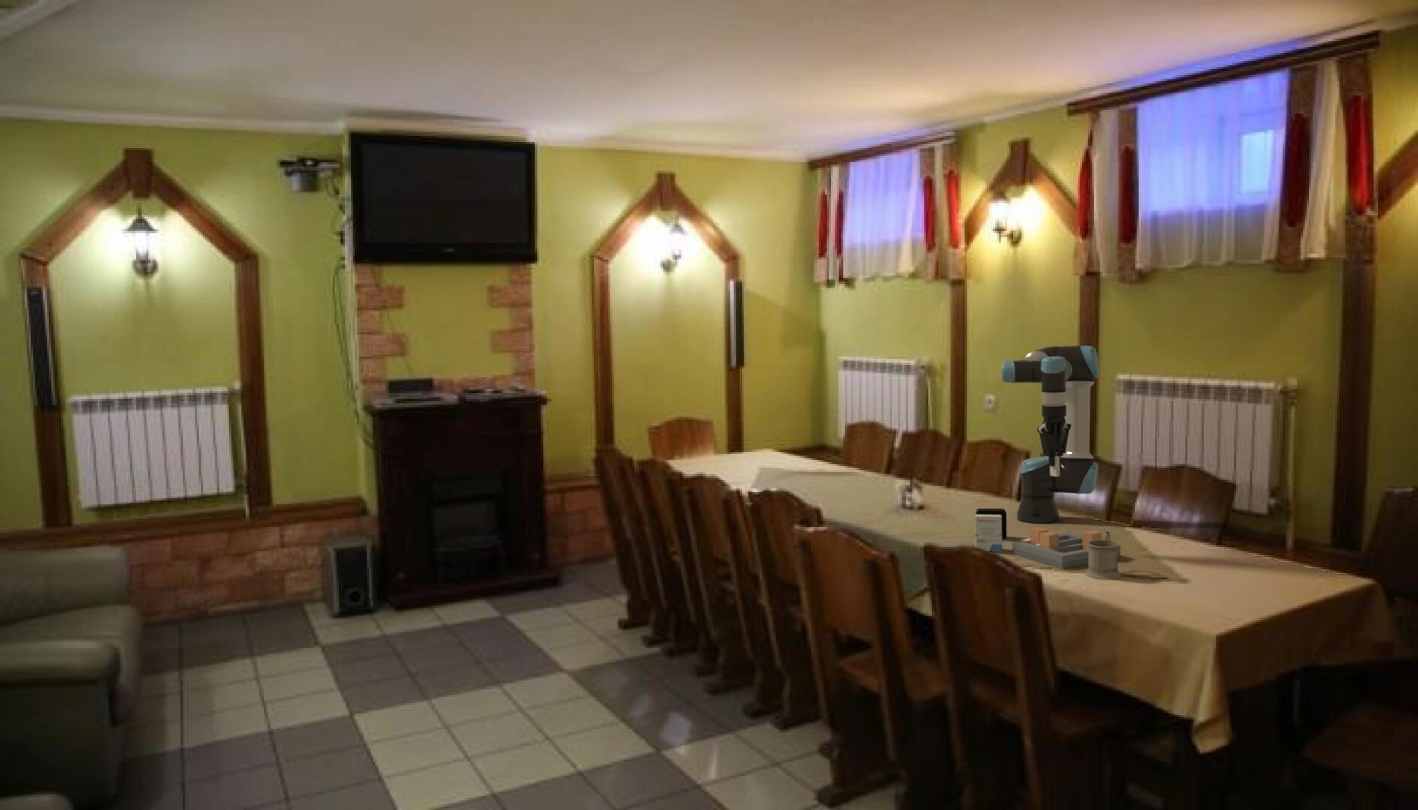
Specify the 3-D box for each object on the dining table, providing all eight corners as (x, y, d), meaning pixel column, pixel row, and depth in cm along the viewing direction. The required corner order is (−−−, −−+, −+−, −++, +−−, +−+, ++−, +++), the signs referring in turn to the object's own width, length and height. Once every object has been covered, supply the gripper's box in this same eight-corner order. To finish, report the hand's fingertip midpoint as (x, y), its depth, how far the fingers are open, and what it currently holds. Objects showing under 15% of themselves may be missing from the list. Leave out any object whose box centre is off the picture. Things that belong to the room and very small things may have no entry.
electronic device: (1006, 539, 342) (1006, 510, 341) (976, 539, 344) (976, 510, 343) (1005, 536, 347) (1005, 508, 346) (976, 536, 349) (975, 508, 348)
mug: (1117, 581, 288) (1117, 540, 287) (1082, 577, 293) (1082, 537, 292) (1126, 568, 300) (1126, 530, 299) (1092, 565, 305) (1092, 527, 304)
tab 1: (1039, 545, 323) (1039, 527, 323) (1048, 547, 320) (1048, 529, 319) (1030, 547, 322) (1030, 528, 321) (1039, 549, 318) (1039, 531, 318)
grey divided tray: (1068, 543, 333) (1068, 531, 332) (1120, 557, 313) (1120, 544, 312) (1012, 553, 323) (1012, 540, 322) (1062, 568, 303) (1062, 555, 302)
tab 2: (1049, 549, 317) (1049, 531, 317) (1058, 552, 314) (1058, 533, 313) (1040, 551, 316) (1039, 533, 315) (1049, 554, 312) (1049, 535, 311)
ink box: (1002, 548, 330) (1002, 513, 329) (1001, 552, 325) (1001, 517, 324) (976, 547, 333) (975, 513, 331) (975, 551, 328) (974, 516, 327)
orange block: (1091, 548, 317) (1091, 530, 316) (1101, 551, 313) (1101, 532, 312) (1082, 550, 315) (1082, 531, 314) (1092, 552, 311) (1091, 534, 311)
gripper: (1060, 401, 328) (1060, 471, 331) (1030, 405, 322) (1031, 476, 325) (1077, 403, 321) (1078, 474, 324) (1047, 407, 315) (1048, 480, 318)
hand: (1054, 475), depth 324 cm, fingers closed
